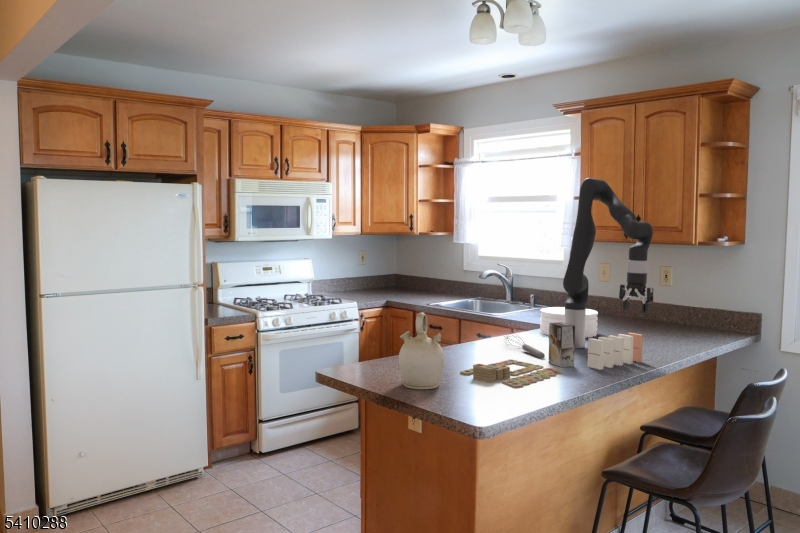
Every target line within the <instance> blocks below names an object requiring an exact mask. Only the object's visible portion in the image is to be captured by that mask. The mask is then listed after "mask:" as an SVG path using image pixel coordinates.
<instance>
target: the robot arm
mask: <svg viewBox="0 0 800 533" xmlns="http://www.w3.org/2000/svg"><path fill="white" fill-rule="evenodd" d="M593 201H599V202H601V203H603V204H604V205H605V206H606V207H607V209H608V212H609V214H610V216H611V217H612V219H613V220H614V221H615V222H616V223H617V224H618V225H619V226H620V227H621V229H622V232H623V233H624V234H625V236H627V237H628V238H629V239H631V240H636V243H635V244H633V245H630V247H629V249H628V261H627V272H626V283H627V284H620V285H619V292H618V293H619V295H618V298H619V300H622V302H623V304H622V309H623V310H624V311H629V309H630V305H629V304H630V299H631V298H632V297H636V298H639V299H640V300H641V302H642V305H641V306H642V309H641V313H642V314H647V313H648V312H649V304H652V303H654V288H653V286H651V287H647V282H648V281H647V280H648V250H649V247H650V245H651V242H652V239H653V235H654V234H653V233H654V229H653V227H652V226H653V225H652V224H651V223H649V222H648V221H636V220H637V216H636V214H635V213H634V212H633V211H632V210H631V209H630V208H629V207H628V206H627V205H625V204H624V203H623V202H622V201H621V200H620V198H619V197H618V196H617V195H616V193H615V192H614V190H613V189H612V188H611V186H610V185H609V183H607V182H606V181H605V180H603V179H600V178H593V177H586V178H585V179H583V181H582V183H581V184H580V188H579V196H578V205H577V206H578V207H577V213H576V221H575V227H574V230H573V234H572V241H571V247H570V252H569V259H568V263H567V266H566V270H565V274H564V277H563V280H562V286H563V289H564V291H565V292H566V293H567V298H566V300H565V301H564V307H565V313H564V323H567V324H571V325H575V349H583V348H585V347H586V338H585V322H586V309H587V303H588V300H589V287H590V286H589V279H588V277H587V275H585V274H584V271H585V265H586V262H587V261H588V258H589V256H590V254H591V252H592V250H593V248H594V243H595V240H596V233H597V229H596V224H595V220H594V218H593V213H592V211H593V210H592V209H593V208H592V206H593Z"/></svg>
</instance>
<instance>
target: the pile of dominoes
mask: <svg viewBox="0 0 800 533" xmlns="http://www.w3.org/2000/svg"><path fill="white" fill-rule="evenodd" d="M510 365H516V366H519V367H520V366H521V367H523V368H519V369H515V370H511V367H510ZM540 369H541V370H540ZM534 370H535V371H534ZM459 374H460V375H462V376H471V375H472V379H473V380H476V381H480V382H485V383H490V384H491V383H496V382H498V381H499V382H500V381H501V383H502V384H504V385H506V386H508V387H511V388H513V389H521V388H524V386H530V385H531V384H536V383H538V382H543V381H544V380H547V379H549V380H550V379H551V377H557V376H558V374H559V375H563V372H562V371H559V370H557V369H555V368H551V367H546V368H544V366H543V365H540V364H534V363H530V362H524V361H520V360H517V359H516V360H515V359H511V358H510V359H506V360H503V361H499V362H494V363H489V364H483V363H475V364H473V365H472V368H469V369H463V370H461V371H460V372H459ZM511 376H512V377H511Z"/></svg>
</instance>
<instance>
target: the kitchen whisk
mask: <svg viewBox="0 0 800 533" xmlns="http://www.w3.org/2000/svg"><path fill="white" fill-rule="evenodd" d="M513 334H514V335H515V336H514V335H512V332H511V333H508V332H507V335H508V336H503V337H504V340H505V339H506V340H505V341H508V342H509V343H507V342H505V345H508V344H509V345H510V346H512V347H513V346H514V345H513V344H512V343H513V342H514V343H516V344H518V345H519V346H520V347H519V346H517V345H515V348H516V347H517V348H516V349H517V350H523V351H524V352H525V351H526V352H527V353H529V354H531V355H532V356H535V357H536V358H538V359H541V358H543V359H545V358H546V356H545V355H546V354H545V353H544V352H543V351H540V350H538V349H537V348H535V347H533V346H531V345H529V344H526V343H525V341H524V340H523V339H522V338H521V337H520V336H518V334H516V333H513ZM510 335H511V336H510ZM509 337H514V338H515V339H516V340H518V339H519V340H521V342H522V343H521V342H518V341H515V340H514V339H512V338H509ZM510 341H511V342H512V343H511V342H510Z"/></svg>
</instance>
